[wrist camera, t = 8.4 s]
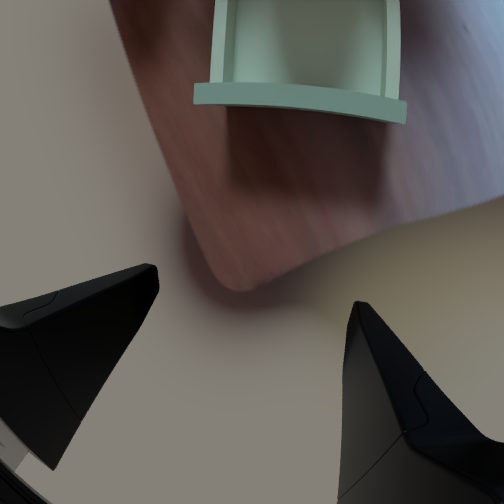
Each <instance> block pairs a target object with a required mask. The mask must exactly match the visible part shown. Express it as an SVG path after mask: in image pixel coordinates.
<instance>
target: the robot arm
mask: <svg viewBox="0 0 504 504" xmlns="http://www.w3.org/2000/svg"><path fill="white" fill-rule="evenodd" d="M158 292H159V278H158V270H157V267H156V266H155V265H152V264H147V263H144V264H141V265H138V266H134V267H131V268H127V269H124V270H121V271H118V272H114V273H112V274H108V275H105V276H102V277H98V278H95V279H92V280H89V281H86V282H82V283H79V284H76V285H73V286H70V287H67V288H64V289H61V290H59V291H54V292H51V293H48V294H45V295H41V296H38V297H35V298H31V299H27V300H24V301H20V302H16V303H13V304H9V305H5V306H1V307H0V504H52V503H51V502H49V501H48V500H47V499H45V498H44V497H43V496H42V495H40V494H39V493H38V492H37V491H35V490H34V489H33V488H32V487H31V486H29V485H28V484H27V483H26V482H25V481H24V480H23V479H22V478H20V477H19V476H18V475H17V474H16V473H15V472H14V471H15V470H16V469H17V467H18V466H19V464H20V463H21V462H22V460H23V459H24V458H25V456H26V454H28V452H30V453H31V454H32V455H33V456H34V457H36V458H37V459H38V460H40V461H41V462H42V463H43V464H44V465H46V466H47V467H48V468H50V469H51V470H52V471H54V469H55V468H56V467H57V465H58V463H59V461H60V459H61V457H62V456H63V454H64V452H65V450H66V448H67V447H68V445H69V443H70V441H71V439H72V438H73V436H74V434H75V432H76V431H77V429H78V427H79V425H80V424H81V422H80V421H82V420H83V418H84V417H85V415H86V413H87V411H88V410H89V408H90V407H91V405H92V403H93V402H94V400H95V398H96V397H97V395H98V393H99V391H100V390H101V388H102V387H103V385H104V383H105V382H106V380H107V379H108V377H109V375H110V374H111V372H112V371H113V369H114V367H115V366H116V364H117V363H118V361H119V359H120V358H121V356H122V355H123V353H124V352H125V350H126V349H127V347H128V345H129V344H130V342H131V341H132V339H133V338H134V336H135V335H136V333H137V332H138V330H139V328H140V326H141V325H142V323H143V321H144V319H145V318H146V316H147V314H148V312H149V310H150V308H151V306H152V304H153V302H154V300H155V298H156V296H157V294H158ZM342 384H343V396H342V397H343V399H342V401H343V402H342V441H341V460H340V475H339V489H338V501H337V504H504V443H502V442H497V441H494V440H491V439H489V438H488V437H486V436H484V435H483V434H482V433H481V432H480V431H479V430H478V429H477V428H476V427H475V426H474V425H473V424H472V423H471V422H470V421H469V420H468V419H467V418H466V416H465V415H463V413H462V412H461V411H460V410H459V409H458V408H457V407H456V406H455V405H454V404H453V403H452V402H451V400H450V399H449V398H448V397H447V396H446V395H445V394H444V393H443V392H442V391H441V389H440V388H439V387H438V386H437V385H436V383H435V382H434V381H433V380H432V379H431V377H430V376H429V375H428V374H427V372H426V371H424V369H423V367H422V366H421V365H420V364H419V363H418V361H417V360H416V359H415V358H414V356H413V355H412V354H411V353H410V352H409V350H408V349H407V348H406V347H405V345H404V344H403V343H402V342H401V341H400V340H399V339H398V337H397V336H396V335H395V334H394V332H393V331H392V330H391V329H390V328H389V326H388V325H387V324H386V323H385V322H384V321H383V319H382V318H381V317H380V316H379V315H378V314H377V313H376V311H375V310H374V309H373V308H372V307H371V306H370V304H368V303H367V302H361V301H355V302H354V304H353V307H352V311H351V314H350V317H349V321H348V325H347V332H346V343H345V353H344V362H343V377H342Z"/></svg>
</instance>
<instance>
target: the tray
mask: <svg viewBox="0 0 504 504" xmlns="http://www.w3.org/2000/svg"><path fill="white" fill-rule="evenodd" d="M400 49H401V31H400V1H399V0H215V12H214V25H213V39H212V54H211V72H210V83H194V104H199V105H217V106H245V107H267V108H282V109H294V110H305V111H314V112H323V113H330V114H338V115H345V116H351V117H357V118H363V119H369V120H374V121H380V122H385V123H394V124H404V125H405V123H406V112H407V102H406V101H402V100H398V97H399V80H400Z"/></svg>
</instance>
